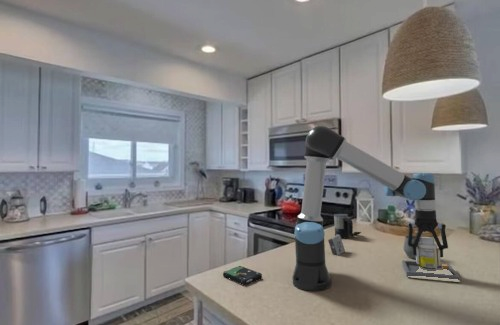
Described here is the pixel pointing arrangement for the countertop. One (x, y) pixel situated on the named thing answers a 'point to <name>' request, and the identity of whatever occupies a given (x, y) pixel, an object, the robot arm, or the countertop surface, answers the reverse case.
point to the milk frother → (344, 226)
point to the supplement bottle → (428, 254)
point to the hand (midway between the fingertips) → (428, 263)
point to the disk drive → (242, 275)
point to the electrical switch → (336, 245)
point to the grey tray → (412, 267)
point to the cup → (409, 247)
